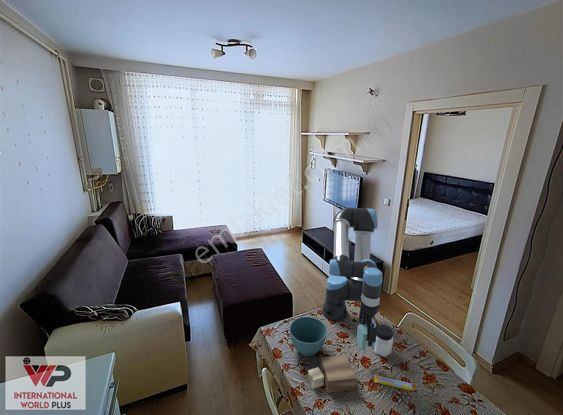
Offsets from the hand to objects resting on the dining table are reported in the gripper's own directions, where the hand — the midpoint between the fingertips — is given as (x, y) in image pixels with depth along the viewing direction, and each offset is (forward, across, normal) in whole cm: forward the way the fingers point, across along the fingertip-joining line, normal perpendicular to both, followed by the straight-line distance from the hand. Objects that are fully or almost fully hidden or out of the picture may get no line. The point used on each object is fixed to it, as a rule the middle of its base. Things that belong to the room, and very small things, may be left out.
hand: (365, 344), depth 120 cm
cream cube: (+9, +9, -25) cm, 28 cm away
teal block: (0, 0, 0) cm, 0 cm away
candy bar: (+10, +13, +8) cm, 18 cm away
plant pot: (+10, -9, -25) cm, 29 cm away
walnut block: (+9, +8, -15) cm, 20 cm away
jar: (+10, -5, +12) cm, 16 cm away
